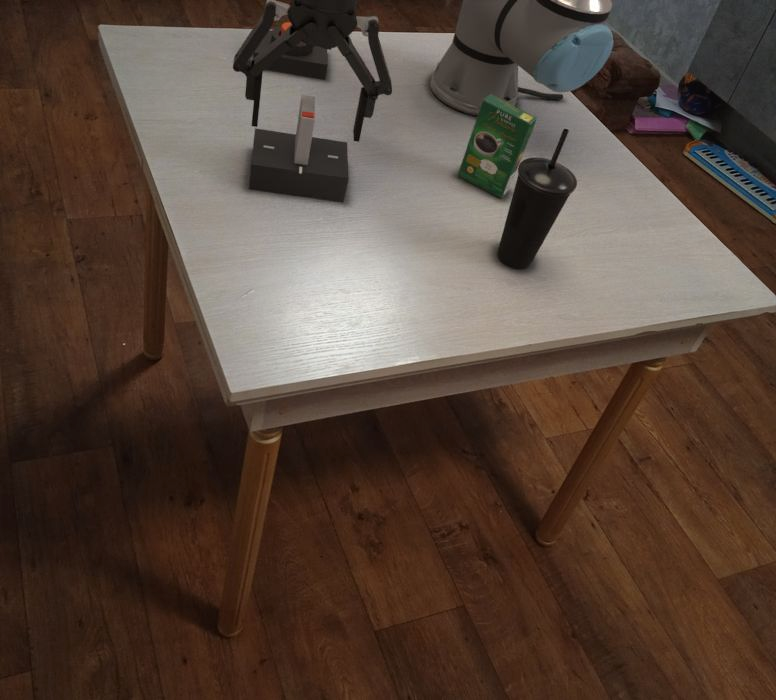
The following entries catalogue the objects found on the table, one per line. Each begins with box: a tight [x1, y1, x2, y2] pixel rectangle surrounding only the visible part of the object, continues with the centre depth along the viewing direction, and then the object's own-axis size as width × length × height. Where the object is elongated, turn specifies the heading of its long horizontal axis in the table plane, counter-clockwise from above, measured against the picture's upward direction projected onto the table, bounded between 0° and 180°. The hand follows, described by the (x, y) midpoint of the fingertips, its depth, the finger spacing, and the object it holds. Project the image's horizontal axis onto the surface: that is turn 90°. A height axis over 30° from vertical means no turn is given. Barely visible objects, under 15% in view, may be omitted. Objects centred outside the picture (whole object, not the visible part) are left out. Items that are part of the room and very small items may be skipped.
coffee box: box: [457, 94, 538, 199], centre depth 120 cm, size 8×3×13 cm, turn 58°
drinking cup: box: [496, 128, 578, 270], centre depth 106 cm, size 8×8×20 cm
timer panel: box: [248, 127, 350, 203], centre depth 114 cm, size 13×10×4 cm
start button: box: [281, 21, 302, 42], centre depth 136 cm, size 4×4×2 cm
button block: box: [252, 25, 329, 80], centre depth 138 cm, size 12×9×4 cm
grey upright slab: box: [294, 94, 316, 165], centre depth 111 cm, size 6×2×7 cm, turn 3°
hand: (306, 129), depth 111 cm, fingers open, 13 cm apart
